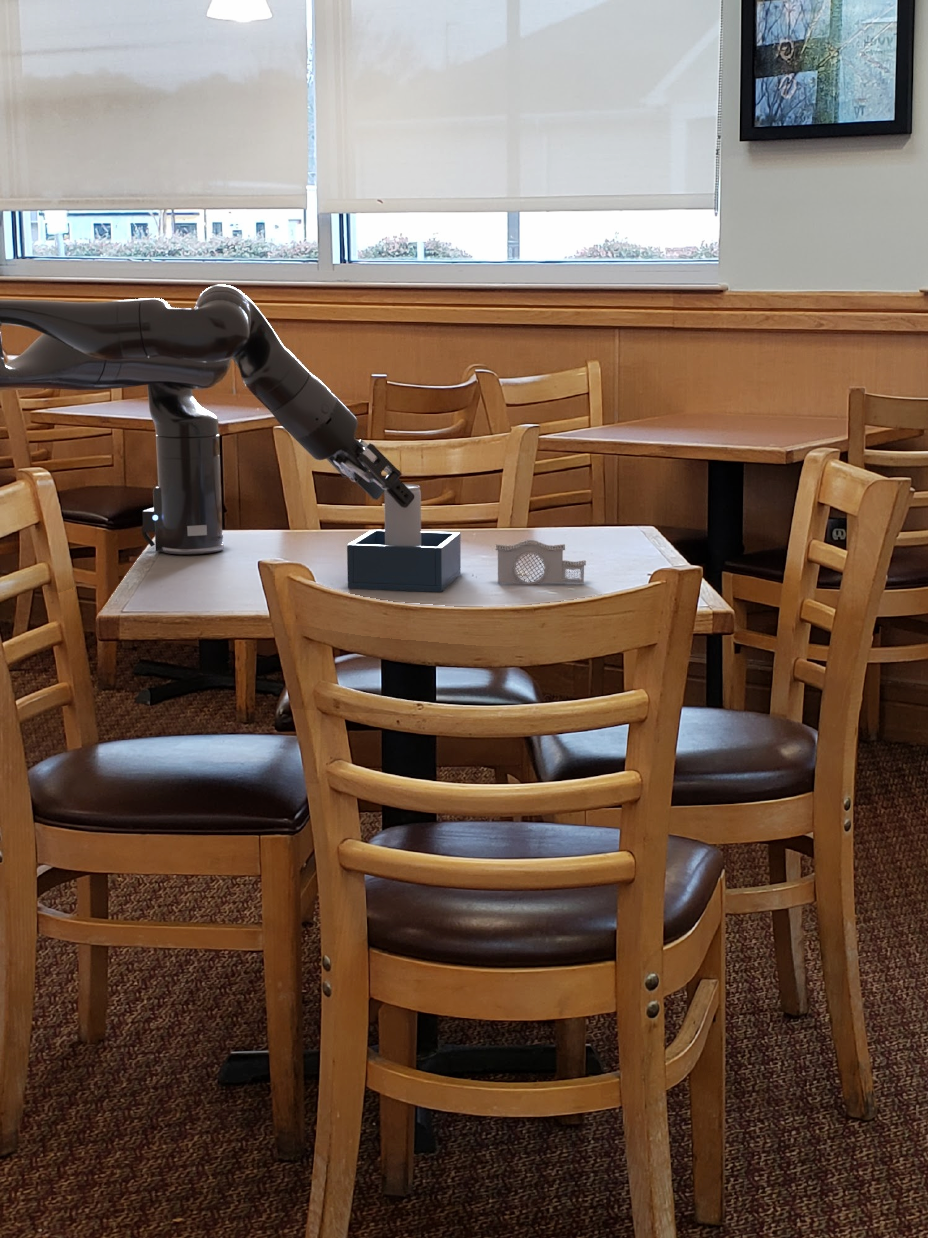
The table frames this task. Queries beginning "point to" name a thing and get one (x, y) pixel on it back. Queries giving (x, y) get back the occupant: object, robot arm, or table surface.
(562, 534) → the table surface
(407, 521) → the beverage can
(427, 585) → the bin
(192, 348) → the robot arm
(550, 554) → the garden wall model
